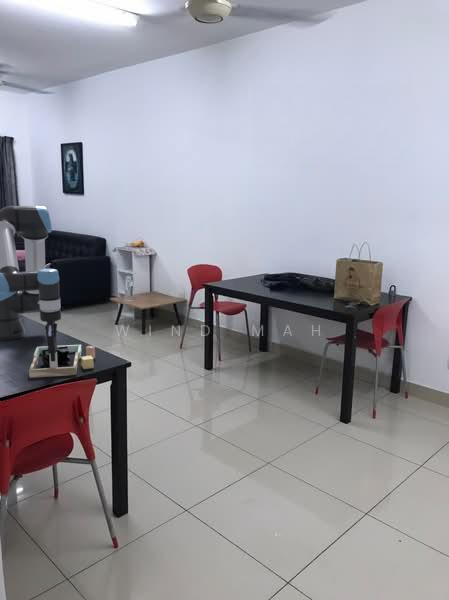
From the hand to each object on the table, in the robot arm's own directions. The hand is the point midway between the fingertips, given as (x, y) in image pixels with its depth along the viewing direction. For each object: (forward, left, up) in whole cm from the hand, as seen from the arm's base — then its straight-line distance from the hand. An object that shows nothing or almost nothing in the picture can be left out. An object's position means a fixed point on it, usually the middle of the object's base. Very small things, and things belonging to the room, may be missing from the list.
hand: (53, 367), depth 186 cm
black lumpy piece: (-9, 0, -2) cm, 10 cm away
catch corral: (-18, 0, -2) cm, 18 cm away
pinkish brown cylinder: (-14, +13, -2) cm, 19 cm away
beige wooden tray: (-5, 0, -2) cm, 5 cm away
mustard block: (-4, +12, -2) cm, 13 cm away
